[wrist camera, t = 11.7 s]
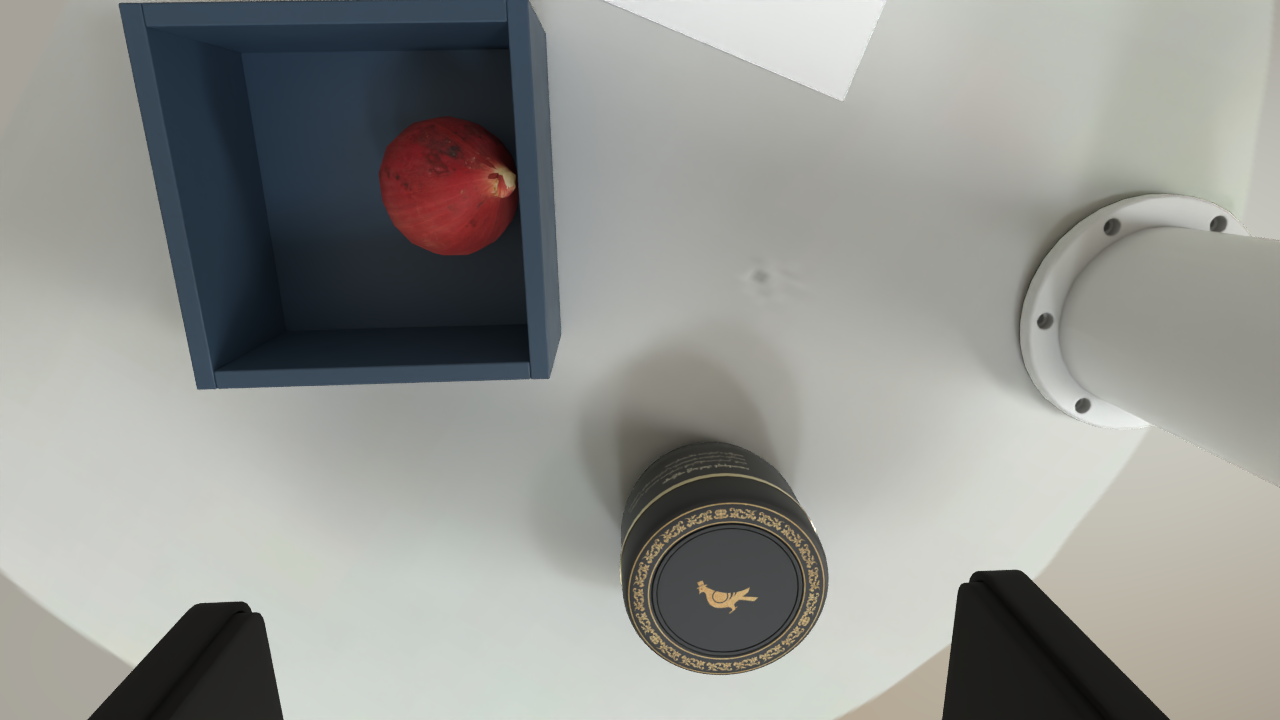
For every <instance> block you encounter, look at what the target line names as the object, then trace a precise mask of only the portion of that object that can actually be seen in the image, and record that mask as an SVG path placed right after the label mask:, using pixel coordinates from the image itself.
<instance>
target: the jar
mask: <svg viewBox="0 0 1280 720" xmlns="http://www.w3.org/2000/svg"><path fill="white" fill-rule="evenodd" d="M621 547H622V550H621V555H620V581H621V586H622V591H623V598H624V603H625V607H626V611H627V614H628V616H629V619H630V621H631V623H632V625H633V627H634V629H635V631H636V632H637V634H638V635H639V637H640V638H641V639H642V640H643V642H644V643H645V644H646V645H647V646H648V647H649V648H650V649H651V650H653V651H654V652H655V653H656V654H657V655H659V656H660V657H662V658H663V659H665V660H666V661H668V662H670V663H672V664H674V665H676V666H678V667H681V668H683V669H686V670H689V671H693V672H697V673H703V674H711V675H730V674H738V673H744V672H748V671H752V670H755V669H758V668H761V667H764V666H766V665H768V664H771V663H773V662H775V661H776V660H778V659H780V658H782V657H783V656H785V655H786V654H788V653H789V652H790V651H792V650H793V649H794V648H795V647H796V646H798V645H799V644H800V643H801V642H802V641H803V640H804V638H805V637H806V636H807V635H808V634H809V632H810V631H811V630H812V628H813V627H814V625H815V624H816V622H817V620H818V618H819V616H820V614H821V612H822V609H823V606H824V604H825V600H826V596H827V591H828V567H827V561H826V557H825V553H824V550H823V547H822V544H821V542H820V540H819V538H818V535H817V533H816V531H815V528H814V526H813V524H812V522H811V520H810V518H809V517H808V515H807V514H806V512H805V511H804V509H803V508H802V507H801V506H800V504H799V502H798V500H797V498H796V497H795V495H794V493H793V491H792V489H791V488H790V486H789V485H788V483H787V482H786V480H785V479H784V478H783V477H782V475H781V474H780V473H779V472H778V471H777V470H776V469H775V468H774V467H773V466H771V465H770V464H769V463H768V462H766V461H765V460H763V459H762V458H760V457H759V456H757V455H755V454H753V453H752V452H750V451H748V450H746V449H743V448H741V447H738V446H734V445H731V444H726V443H717V442H704V443H696V444H691V445H687V446H684V447H681V448H678V449H676V450H673V451H671V452H669V453H668V454H666V455H664V456H663V457H661V458H660V459H658V460H657V461H656V462H654V463H653V464H652V465H651V466H650V467H649V468H648V469H647V470H646V471H645V472H644V473H643V475H642V476H641V477H640V479H639V480H638V482H637V483H636V485H635V487H634V489H633V490H632V492H631V494H630V496H629V498H628V501H627V503H626V506H625V509H624V513H623V518H622V526H621Z"/></svg>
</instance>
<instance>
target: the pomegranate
mask: <svg viewBox="0 0 1280 720" xmlns="http://www.w3.org/2000/svg"><path fill="white" fill-rule="evenodd" d="M378 175H379V182H380V189H381V196H382V202H383V204H384V206H385V208H386V210H387V212H388V214H389V216H390V218H391V220H392V222H393V224H394V226H395V227H396V228H397V229H398V230H399V231H400V232H401V233H402V234H403V235H404V236H405V237H406V238H407V239H408V240H409V241H410V242H411V243H412V244H415V245H417V246H419V247H422V248H424V249H426V250H428V251H431V252H433V253H436V254H440V255H469V254H471V253H474V252H476V251H478V250H480V249H482V248H484V247H486V246H488V245H490V244H491V243H493V242H495V241H496V240H497V239H498V238H499V237H500V236H501V234H502V233H503V232H504V231H505V230H506V228H507V227H508V226H509V225H510V223H511V222H512V221H513V218H514V215H515V212H516V208H517V205H518V201H519V188H518V173H517V168H516V165H515V162H514V159H513V157H512V155H511V154H510V152H509V151H508V150H507V148H506V147H505V145H504V144H503V143H502V141H501V140H500V139H499V138H498V137H496V136H495V135H494V134H492V133H491V132H489V131H488V130H486V129H485V128H483V127H482V126H481V125H479V124H477V123H474V122H472V121H467V120H463V119H459V118H454V117H450V116H444V117H437V118H432V119H428V120H424V121H419V122H415V123H412V124H411V125H410V126H408V127H407V128H405V129H404V130H403V131H402V132H401V133H400V134H399V135H398V136H397V137H396V138H395V139H394V140H393V141H392V142H391V143H390V144H389V145H388V146H387V147H386V150H385V153H384V157H383V160H382V163H381V166H380V170H379V173H378Z"/></svg>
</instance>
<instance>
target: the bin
mask: <svg viewBox="0 0 1280 720" xmlns="http://www.w3.org/2000/svg"><path fill="white" fill-rule="evenodd" d="M119 9H120V13H121V18H122V23H123V28H124V33H125V38H126V43H127V48H128V53H129V57H130V62H131V67H132V72H133V77H134V82H135V87H136V92H137V97H138V102H139V106H140V111H141V116H142V121H143V126H144V131H145V136H146V141H147V146H148V151H149V155H150V160H151V165H152V170H153V175H154V180H155V185H156V190H157V195H158V200H159V204H160V209H161V214H162V219H163V224H164V229H165V234H166V239H167V244H168V248H169V253H170V258H171V263H172V268H173V273H174V278H175V283H176V288H177V293H178V297H179V302H180V307H181V312H182V317H183V322H184V327H185V332H186V337H187V342H188V346H189V351H190V356H191V361H192V366H193V371H194V376H195V381H196V386H197V389H199V390H200V389H217V388H218V389H227V388H259V387H291V386H324V385H356V384H388V383H420V382H452V381H485V380H517V379H530V378H531V379H549V378H550V375H551V371H552V367H553V363H554V359H555V356H556V352H557V348H558V344H559V340H560V336H561V321H560V302H559V283H558V263H557V244H556V225H555V205H554V186H553V167H552V147H551V128H550V109H549V89H548V70H547V51H546V33H545V31H544V29H543V27H542V25H541V23H540V21H539V20H538V18H537V16H536V14H535V12H534V10H533V8H532V6H531V4H530V2H529V0H333V1H250V2H167V3H119ZM444 116H450V117H454V118H459V119H463V120H467V121H472V122H474V123H477V124H479V125H481V126H482V127H483V128H485V129H486V130H488V131H489V132H491V133H492V134H494V135H495V136H496V137H498V138H499V139H500V140H501V141H502V143H503V144H504V145H505V147H506V148H507V150H508V151H509V152H510V154H511V155H512V157H513V159H514V162H515V165H516V168H517V173H518V188H519V201H518V205H517V208H516V212H515V215H514V218H513V221H512V222H511V223H510V225H509V226H508V227H507V228H506V230H505V231H504V232H503V233H502V234H501V236H500V237H499V238H498V239H497V240H496V241H495V242H493V243H491V244H490V245H488V246H486V247H484V248H482V249H480V250H478V251H476V252H474V253H471V254H469V255H440V254H436V253H433V252H431V251H428V250H426V249H424V248H422V247H419V246H417V245H415V244H412V243H411V242H410V241H409V240H408V239H407V238H406V237H405V236H404V235H403V234H402V233H401V232H400V231H399V230H398V229H397V228H396V227H395V226H394V224H393V222H392V220H391V218H390V216H389V214H388V212H387V210H386V208H385V206H384V204H383V202H382V196H381V189H380V182H379V175H378V173H379V170H380V166H381V163H382V160H383V157H384V153H385V150H386V147H387V146H388V145H389V144H390V143H391V142H392V141H393V140H394V139H395V138H396V137H397V136H398V135H399V134H400V133H401V132H402V131H403V130H404V129H405V128H407V127H408V126H410V125H411V124H412V123H415V122H419V121H424V120H428V119H432V118H437V117H444Z"/></svg>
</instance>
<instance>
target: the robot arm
mask: <svg viewBox="0 0 1280 720" xmlns="http://www.w3.org/2000/svg"><path fill="white" fill-rule="evenodd" d="M1038 317H1039V319H1038ZM1020 345H1021V350H1022V355H1023V359H1024V364H1025V366H1026V369H1027V371H1028V373H1029V375H1030V377H1031V379H1032V382H1033V383H1034V384H1035V386H1036V387H1037V388H1038V390H1039V391H1040V392H1041V394H1042V395H1043V396H1044V397H1045V398H1046V399H1047V400H1048V401H1049V402H1051V403H1052V404H1053V405H1054V406H1056V407H1057V408H1058V409H1059V410H1061V411H1063V412H1064V413H1066V414H1068V415H1069V416H1071V417H1073V418H1075V419H1077V420H1079V421H1082V422H1085V423H1087V424H1090V425H1093V426H1096V427H1102V428H1108V429H1115V430H1119V429H1139V428H1143V427H1148V426H1153V425H1155V426H1157V427H1159V428H1161V429H1163V430H1165V431H1167V432H1169V433H1171V434H1173V435H1175V436H1177V437H1179V438H1181V439H1183V440H1185V441H1187V442H1189V443H1191V444H1193V445H1195V446H1197V447H1199V448H1201V449H1203V450H1205V451H1207V452H1209V453H1211V454H1213V455H1215V456H1217V457H1219V458H1221V459H1223V460H1225V461H1227V462H1229V463H1231V464H1233V465H1235V466H1237V467H1239V468H1241V469H1243V470H1245V471H1247V472H1249V473H1251V474H1253V475H1255V476H1257V477H1259V478H1261V479H1263V480H1265V481H1267V482H1269V483H1271V484H1274V485H1275V486H1277V487H1279V488H1280V240H1274V239H1267V238H1259V237H1252V236H1251V234H1250V233H1249V231H1248V230H1247V228H1246V227H1245V226H1244V225H1243V224H1242V223H1241V222H1240V221H1239V220H1238V219H1237V218H1236V217H1235V216H1234V215H1233V214H1232V213H1230V212H1228V211H1227V210H1225V209H1223V208H1222V207H1220V206H1218V205H1216V204H1215V203H1213V202H1210V201H1206V200H1203V199H1200V198H1196V197H1193V196H1185V195H1175V194H1146V195H1142V196H1137V197H1132V198H1128V199H1123V200H1121V201H1118V202H1116V203H1113V204H1111V205H1109V206H1106V207H1104V208H1101V209H1099V210H1098V211H1096V212H1095V213H1093V214H1091V215H1090V216H1088V217H1087V218H1085V219H1084V220H1082V221H1080V222H1079V223H1078V224H1077V225H1075V226H1074V227H1073V228H1072V229H1071V230H1070V231H1069V232H1068V233H1066V234H1065V235H1064V236H1063V237H1062V238H1061V239H1060V240H1059V241H1058V242H1057V244H1056V245H1055V246H1054V247H1053V248H1052V250H1051V251H1050V252H1049V253H1048V254H1047V256H1046V257H1045V258H1044V260H1043V262H1042V263H1041V265H1040V267H1039V268H1038V270H1037V272H1036V274H1035V275H1034V277H1033V279H1032V281H1031V284H1030V287H1029V289H1028V292H1027V295H1026V297H1025V300H1024V304H1023V310H1022V315H1021V321H1020ZM88 720H283V715H282V710H281V705H280V699H279V694H278V689H277V684H276V679H275V674H274V669H273V663H272V658H271V653H270V648H269V643H268V638H267V633H266V628H265V623H264V619H263V617H262V616H261V614H260V613H257V612H254V613H252V611H251V608H250V607H249V606H248V604H247V603H244V602H219V603H200V604H196V605H194V606H193V607H192V608H190V609H189V610H188V611H187V612H186V613H185V614H184V615H183V617H182V618H181V619H180V620H179V621H178V622H177V623H176V624H175V625H174V626H173V627H172V628H171V630H170V631H169V632H168V633H167V634H166V635H165V636H164V637H163V638H162V639H161V640H160V641H159V643H158V644H157V645H156V646H155V647H154V648H153V649H152V650H151V651H150V652H149V653H148V655H147V656H146V657H145V658H144V659H143V660H142V661H141V662H140V663H139V664H138V665H137V666H136V668H135V669H134V670H133V671H132V672H131V673H130V674H129V675H128V676H127V677H126V679H125V680H124V681H123V682H122V683H121V684H120V685H119V686H118V687H117V688H116V689H115V690H114V691H113V692H112V694H111V695H110V696H109V697H108V698H107V699H106V700H105V701H104V702H103V703H102V704H101V706H100V707H99V708H98V709H97V710H96V711H95V712H94V713H93V714H92V715H91V717H90V718H89V719H88ZM942 720H1170V719H1169V718H1168V717H1167V716H1166V715H1165V714H1164V713H1163V712H1162V711H1161V710H1160V709H1159V708H1158V707H1157V706H1156V705H1155V704H1154V703H1153V702H1152V701H1151V700H1150V699H1149V698H1148V697H1147V696H1146V695H1145V694H1144V693H1143V692H1142V691H1141V690H1140V689H1139V688H1138V687H1137V686H1136V685H1135V684H1134V683H1133V682H1132V681H1131V680H1130V679H1129V678H1128V677H1127V676H1126V675H1125V674H1124V673H1123V672H1122V671H1121V670H1120V669H1119V668H1118V667H1117V666H1116V665H1115V664H1114V663H1113V662H1112V661H1111V660H1110V659H1109V658H1108V657H1107V656H1106V655H1105V654H1104V653H1103V652H1102V651H1101V650H1100V649H1099V648H1098V647H1097V646H1096V645H1095V644H1094V643H1093V642H1092V641H1091V640H1090V639H1089V638H1088V637H1087V636H1086V635H1085V634H1084V633H1083V632H1082V631H1081V629H1079V627H1078V626H1077V625H1076V624H1075V623H1073V621H1072V620H1070V618H1069V617H1068V616H1067V615H1066V614H1064V612H1063V611H1062V610H1061V609H1060V608H1059V607H1058V606H1057V605H1056V604H1055V603H1054V602H1053V601H1052V600H1051V599H1050V598H1049V597H1048V596H1047V595H1046V594H1045V593H1044V592H1043V591H1042V590H1041V589H1040V588H1039V587H1038V586H1037V585H1036V584H1035V583H1034V582H1033V581H1032V580H1031V579H1030V578H1029V577H1028V576H1027V575H1026V574H1024V573H1023V572H1022V571H1019V570H997V571H977V572H975V573H973V574H972V576H971V578H970V580H969V583H963V584H961V585H960V587H959V590H958V595H957V603H956V611H955V619H954V627H953V635H952V644H951V652H950V660H949V669H948V677H947V684H946V693H945V701H944V709H943V717H942Z"/></svg>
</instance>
